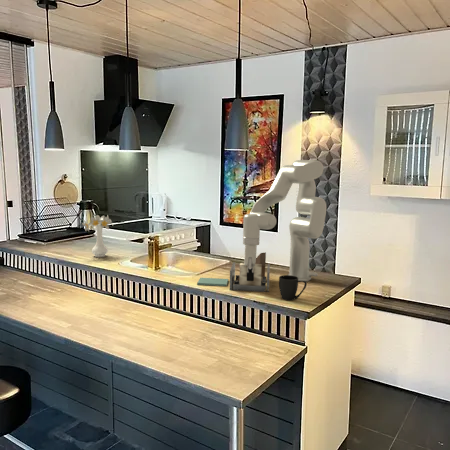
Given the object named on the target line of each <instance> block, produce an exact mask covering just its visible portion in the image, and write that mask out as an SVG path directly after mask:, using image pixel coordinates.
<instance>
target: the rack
mask: <svg viewBox="0 0 450 450" xmlns="http://www.w3.org/2000/svg"><path fill="white" fill-rule="evenodd" d="M270 265H271V264H270V263H267V271H266V272H267V273H266V275H265V276H261V277H263V280H262V282H261V286H256V285H239V281H237V278H239V276H240V274H236V262H235V261H233V262H232V265H231V267H230V270H229V291H239V292H240V291H241V292H258V293H259V292H262V293H263V292H264V293H269V292H270V272H271V267H270Z"/></svg>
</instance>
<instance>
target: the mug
mask: <svg viewBox="0 0 450 450" xmlns="http://www.w3.org/2000/svg"><path fill="white" fill-rule="evenodd" d="M278 280H279V281H278V287H279V294H280V298H281V300H283V301H289V302H290V301H294V300H297V299H298V298H299V297H300V296H301V295H302V293H304V291H305V289H306V287H307V285H308V284H307V282H308V281H301V280H300V281H298V277H296V276H292V275H288V274H286V275H285V274H284V275H279V277H278ZM299 283H304V284H303V285H304V286H303V288H302V290H301V291H300V293H299V294H297V292H298V287H299Z"/></svg>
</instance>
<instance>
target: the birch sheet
mask: <svg viewBox="0 0 450 450" xmlns="http://www.w3.org/2000/svg"><path fill="white" fill-rule="evenodd" d="M247 265H248V264H247ZM248 266H249V265H248ZM252 266H253V265H252ZM261 268H262V264H255V266H254V267H253V272H254V281H247V266H244V262H241V263H239V275H240V278H239V285H256V286H261Z"/></svg>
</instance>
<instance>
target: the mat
mask: <svg viewBox="0 0 450 450" xmlns="http://www.w3.org/2000/svg"><path fill="white" fill-rule="evenodd" d="M228 283H229V279H228V278H216V277H215V278H213V277H200V278H199V279H198V281H197V283H196V285H197V286H208V285H209V286H210V287H227V286H228Z"/></svg>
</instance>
